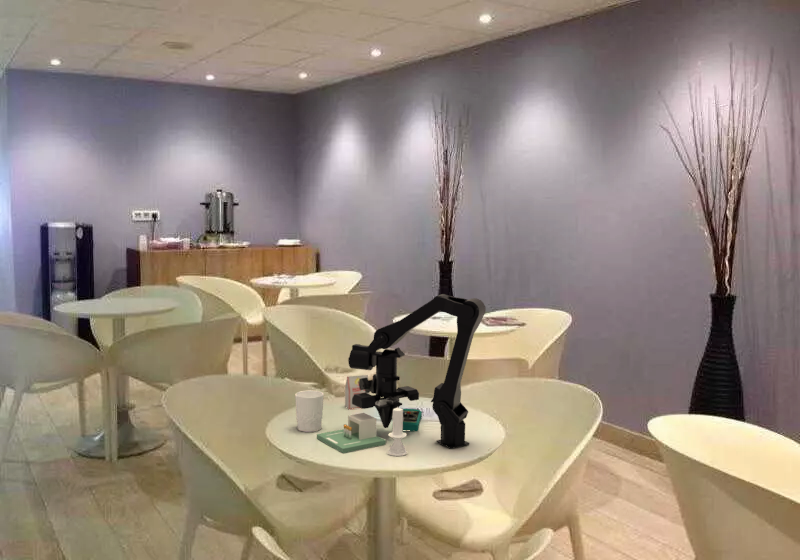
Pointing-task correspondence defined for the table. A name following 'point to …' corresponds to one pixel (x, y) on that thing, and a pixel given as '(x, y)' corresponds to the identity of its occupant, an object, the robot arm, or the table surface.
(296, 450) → the table surface
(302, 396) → the white cup
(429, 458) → the table surface
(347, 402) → the tea bag
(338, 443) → the header board
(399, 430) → the candle
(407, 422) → the digital multimeter
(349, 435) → the pins
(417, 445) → the table surface
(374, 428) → the block
